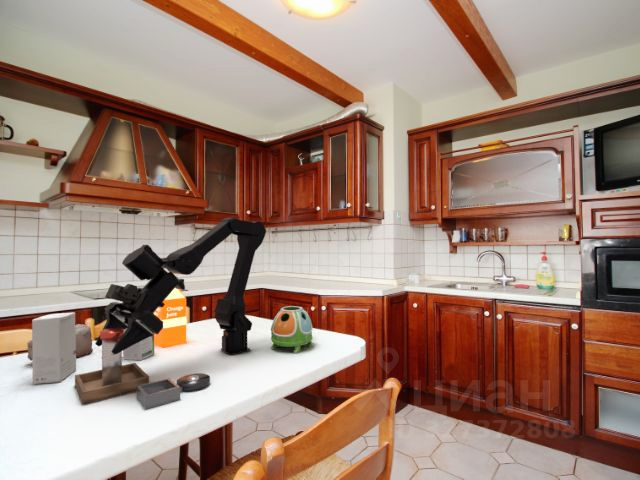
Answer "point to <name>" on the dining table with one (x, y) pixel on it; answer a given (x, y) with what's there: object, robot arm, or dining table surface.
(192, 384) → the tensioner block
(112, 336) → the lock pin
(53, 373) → the skincare box
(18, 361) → the dining table surface
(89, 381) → the tray
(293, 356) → the dining table surface
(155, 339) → the orange juice
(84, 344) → the food item
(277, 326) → the turtle holder
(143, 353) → the syrup box
